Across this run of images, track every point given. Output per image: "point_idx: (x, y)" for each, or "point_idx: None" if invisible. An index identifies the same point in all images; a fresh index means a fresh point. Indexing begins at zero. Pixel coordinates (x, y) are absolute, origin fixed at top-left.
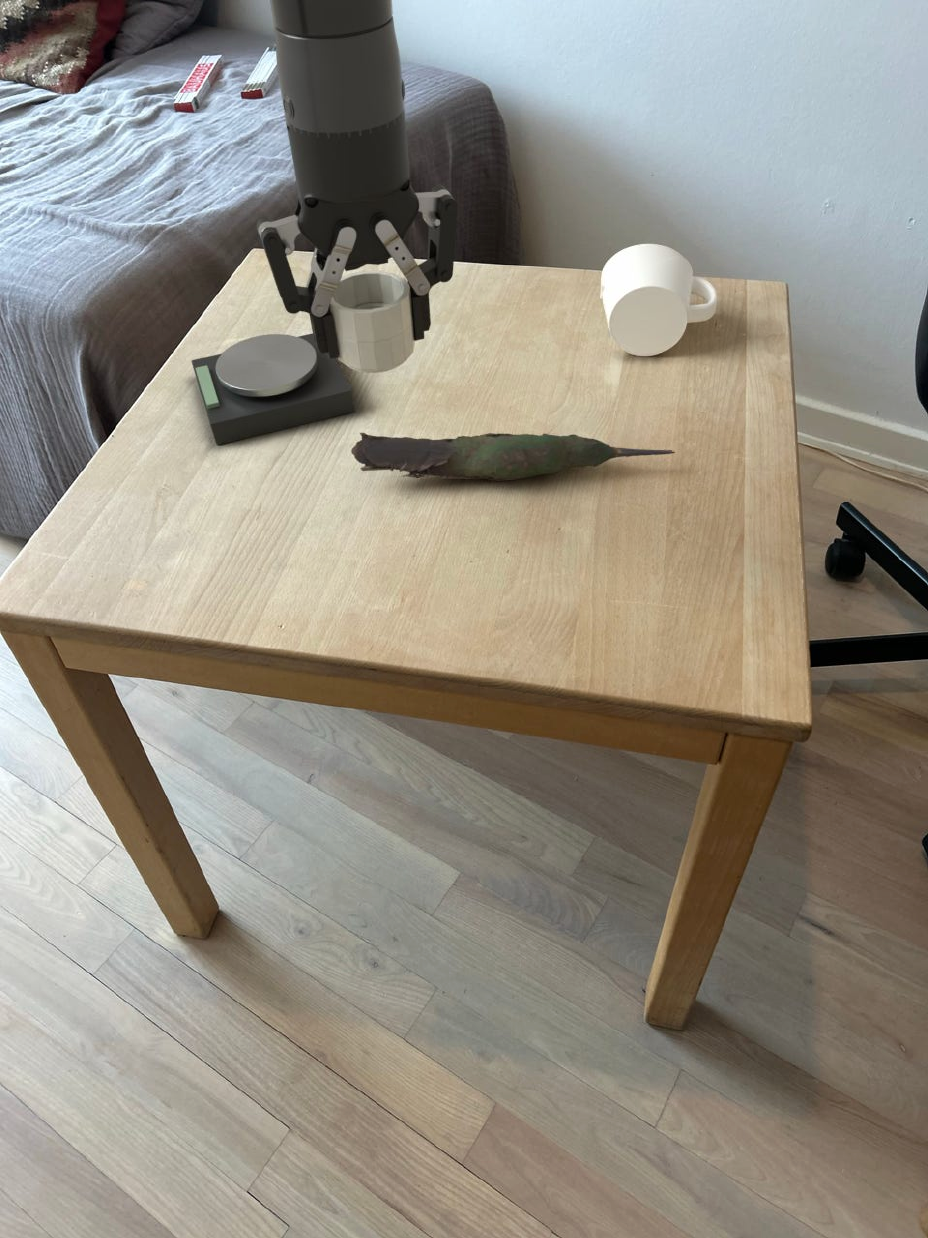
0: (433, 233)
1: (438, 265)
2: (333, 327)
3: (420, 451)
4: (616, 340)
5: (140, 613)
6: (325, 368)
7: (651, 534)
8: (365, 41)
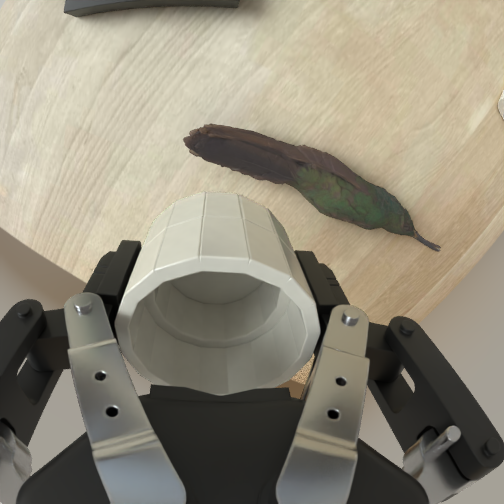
0: (416, 414)
1: (374, 396)
2: None
3: (260, 167)
4: (501, 102)
5: (6, 220)
6: None
7: (374, 291)
8: None
